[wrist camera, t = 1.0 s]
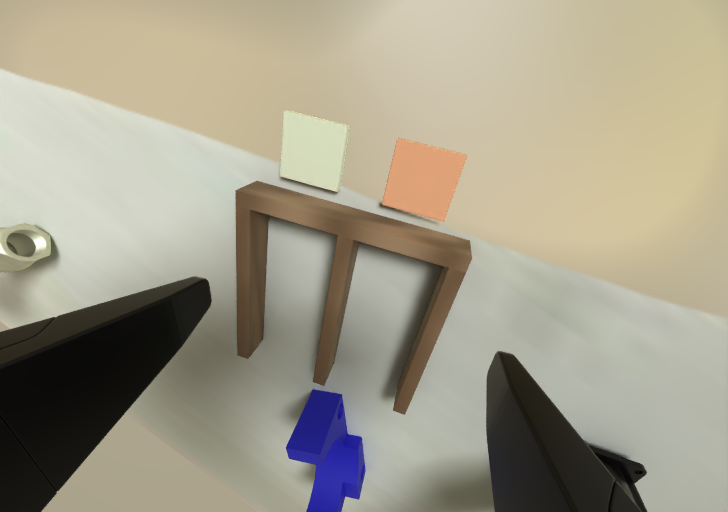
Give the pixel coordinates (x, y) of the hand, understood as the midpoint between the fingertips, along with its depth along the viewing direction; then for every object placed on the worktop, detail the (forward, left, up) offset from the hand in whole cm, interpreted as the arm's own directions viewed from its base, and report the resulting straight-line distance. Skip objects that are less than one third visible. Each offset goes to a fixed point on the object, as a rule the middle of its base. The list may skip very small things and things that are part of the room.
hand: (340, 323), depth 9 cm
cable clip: (0, +26, -13) cm, 29 cm away
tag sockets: (+2, +9, -12) cm, 15 cm away
